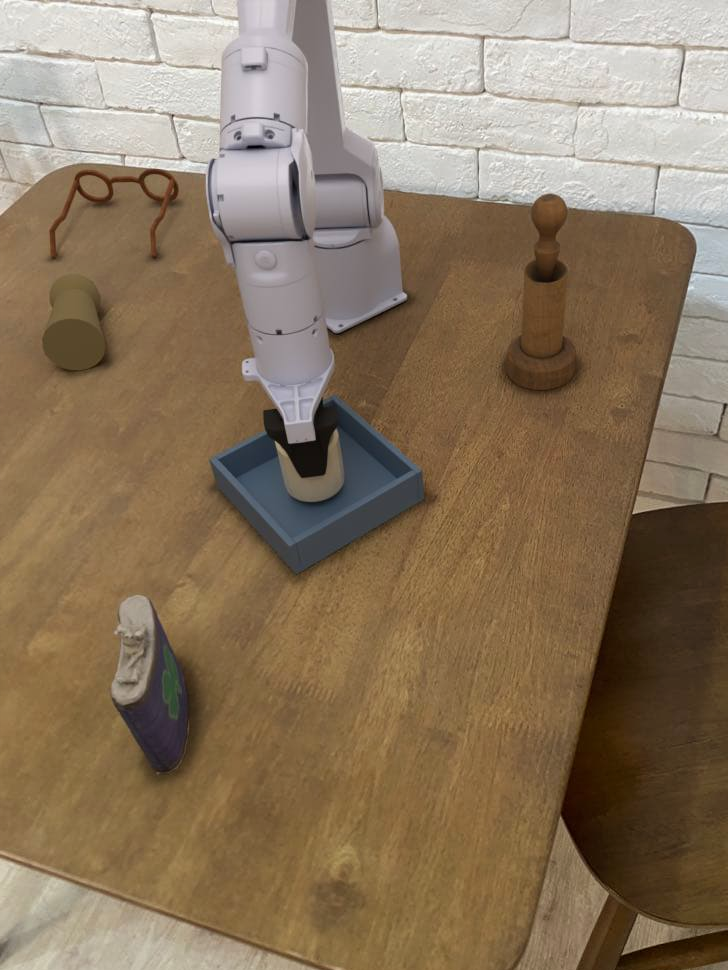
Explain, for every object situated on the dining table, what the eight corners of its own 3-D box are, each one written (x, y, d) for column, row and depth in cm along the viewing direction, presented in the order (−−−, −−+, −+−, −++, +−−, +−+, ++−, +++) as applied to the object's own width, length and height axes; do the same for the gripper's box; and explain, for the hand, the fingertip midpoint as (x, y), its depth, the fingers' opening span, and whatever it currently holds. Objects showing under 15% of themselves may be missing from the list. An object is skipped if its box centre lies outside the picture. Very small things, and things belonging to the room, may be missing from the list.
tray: (339, 422, 88) (334, 393, 86) (424, 499, 81) (422, 469, 78) (217, 487, 84) (208, 458, 81) (296, 574, 76) (289, 546, 74)
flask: (151, 667, 71) (109, 578, 63) (190, 661, 71) (153, 572, 63) (146, 778, 65) (99, 694, 57) (189, 771, 65) (147, 687, 57)
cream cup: (323, 451, 83) (315, 408, 80) (356, 482, 80) (350, 439, 77) (273, 478, 81) (263, 435, 78) (305, 511, 79) (296, 468, 75)
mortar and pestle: (529, 399, 89) (537, 225, 75) (493, 363, 93) (495, 192, 79) (587, 375, 90) (605, 202, 77) (550, 341, 94) (561, 170, 81)
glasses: (184, 202, 118) (174, 164, 115) (156, 259, 110) (144, 220, 106) (84, 203, 120) (71, 166, 116) (49, 260, 111) (34, 221, 107)
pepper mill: (74, 307, 91) (75, 254, 99) (28, 341, 93) (33, 286, 100) (118, 348, 96) (116, 294, 103) (74, 380, 97) (75, 325, 105)
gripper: (230, 264, 73) (261, 400, 83) (229, 380, 63) (264, 518, 73) (320, 253, 73) (340, 390, 83) (333, 367, 63) (354, 506, 74)
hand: (310, 449), depth 78 cm, fingers closed on cream cup, 5 cm apart
